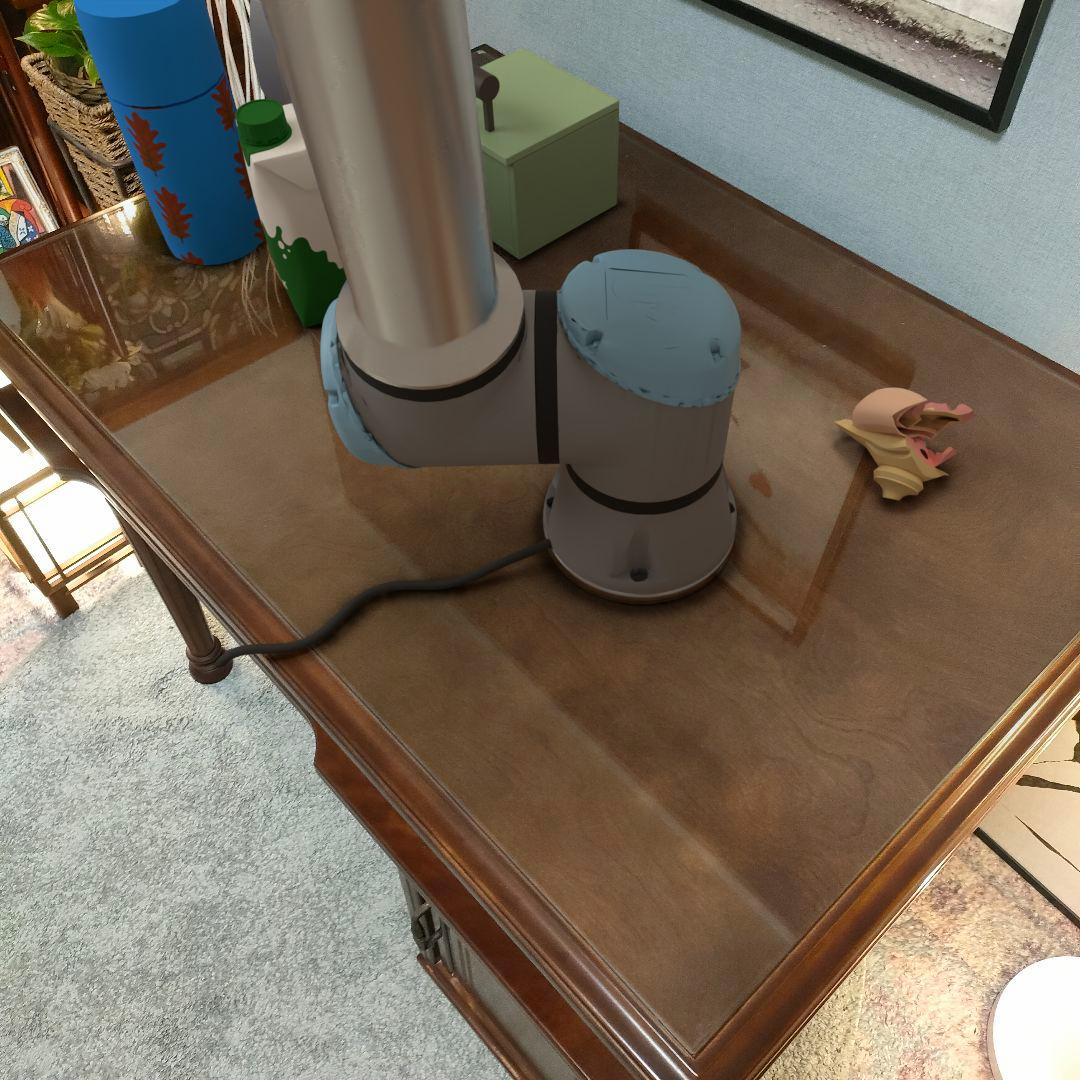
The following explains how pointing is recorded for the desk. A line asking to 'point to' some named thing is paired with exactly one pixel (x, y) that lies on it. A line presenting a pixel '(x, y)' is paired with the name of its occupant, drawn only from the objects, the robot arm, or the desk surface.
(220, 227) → the thermos
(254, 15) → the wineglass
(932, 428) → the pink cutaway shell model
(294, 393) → the desk surface
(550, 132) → the lid
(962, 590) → the desk surface
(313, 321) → the milk carton
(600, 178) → the chest
